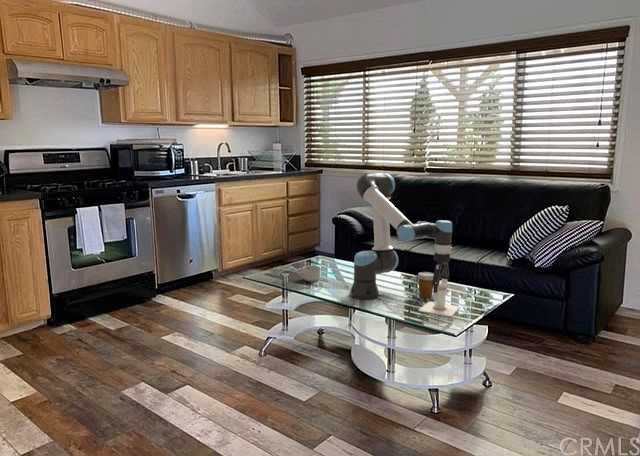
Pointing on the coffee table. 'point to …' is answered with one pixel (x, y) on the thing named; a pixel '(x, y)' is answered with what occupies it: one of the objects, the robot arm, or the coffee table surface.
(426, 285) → the disposable coffee cup
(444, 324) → the coffee table surface
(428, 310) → the card
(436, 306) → the plastic tube
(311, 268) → the teacup
